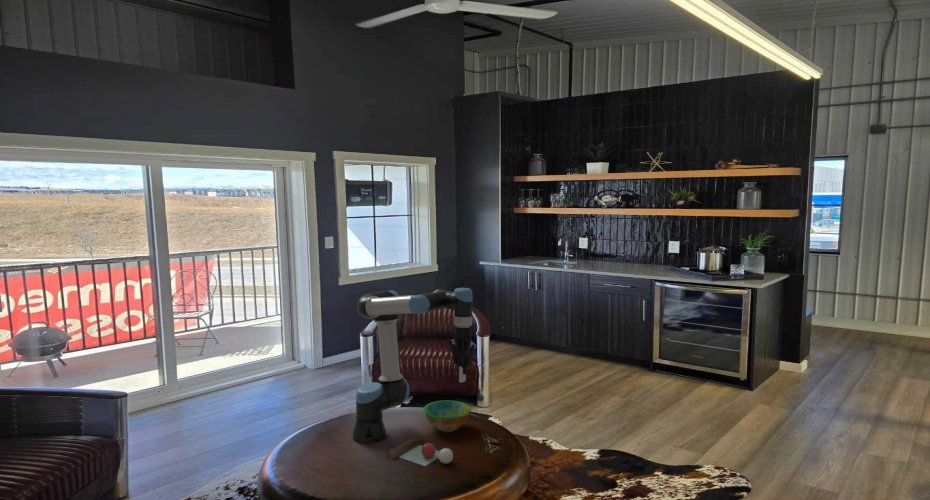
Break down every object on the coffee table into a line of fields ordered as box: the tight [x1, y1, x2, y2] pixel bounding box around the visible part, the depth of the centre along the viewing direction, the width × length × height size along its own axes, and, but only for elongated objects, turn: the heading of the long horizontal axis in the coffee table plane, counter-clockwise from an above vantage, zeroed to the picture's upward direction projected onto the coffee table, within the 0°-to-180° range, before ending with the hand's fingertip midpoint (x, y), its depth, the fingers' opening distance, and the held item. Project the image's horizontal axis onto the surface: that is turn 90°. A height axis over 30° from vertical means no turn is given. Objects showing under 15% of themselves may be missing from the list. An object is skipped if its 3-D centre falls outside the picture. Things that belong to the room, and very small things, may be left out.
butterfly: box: [481, 432, 505, 456], centre depth 247 cm, size 18×4×10 cm
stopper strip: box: [386, 435, 423, 460], centre depth 243 cm, size 2×20×2 cm, turn 146°
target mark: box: [398, 444, 441, 467], centre depth 238 cm, size 14×14×1 cm
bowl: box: [422, 399, 472, 433], centre depth 264 cm, size 22×22×10 cm
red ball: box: [421, 442, 437, 458], centre depth 236 cm, size 6×6×6 cm
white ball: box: [438, 447, 454, 465], centre depth 231 cm, size 6×6×6 cm
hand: (462, 381), depth 234 cm, fingers closed
